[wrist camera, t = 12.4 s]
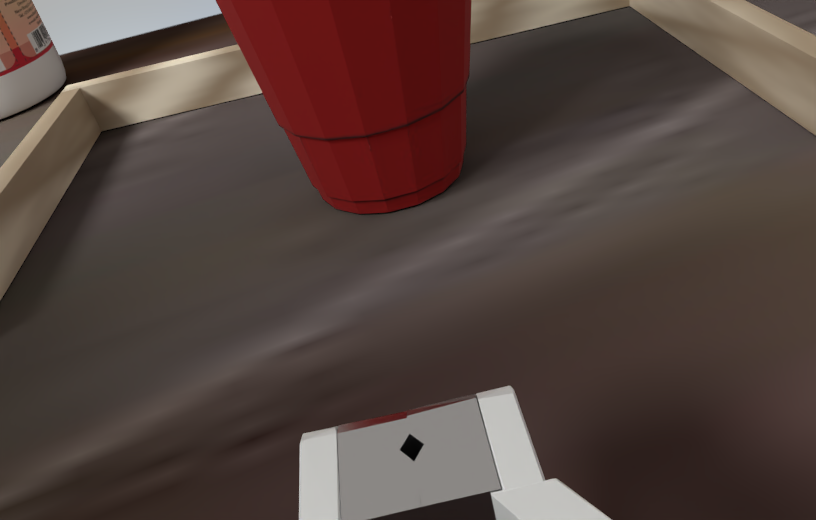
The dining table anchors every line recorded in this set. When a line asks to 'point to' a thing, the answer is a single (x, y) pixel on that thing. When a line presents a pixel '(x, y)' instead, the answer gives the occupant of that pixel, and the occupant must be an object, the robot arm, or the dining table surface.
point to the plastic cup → (364, 91)
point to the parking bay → (490, 18)
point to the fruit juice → (26, 58)
